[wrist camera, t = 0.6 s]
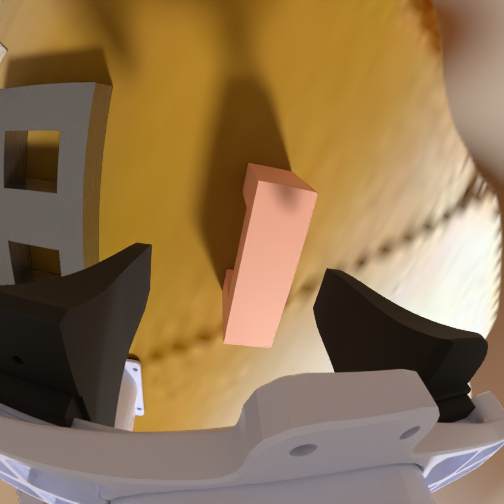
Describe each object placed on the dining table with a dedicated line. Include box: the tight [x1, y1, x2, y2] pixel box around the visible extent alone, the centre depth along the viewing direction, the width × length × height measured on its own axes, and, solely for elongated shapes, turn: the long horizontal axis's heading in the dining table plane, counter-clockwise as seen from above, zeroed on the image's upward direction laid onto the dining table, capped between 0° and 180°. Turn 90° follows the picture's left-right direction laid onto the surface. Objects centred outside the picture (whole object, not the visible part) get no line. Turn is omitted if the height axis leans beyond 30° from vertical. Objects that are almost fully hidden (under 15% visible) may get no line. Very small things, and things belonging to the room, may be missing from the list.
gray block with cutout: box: [0, 82, 113, 285], centre depth 17 cm, size 18×9×3 cm, turn 168°
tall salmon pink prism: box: [222, 163, 318, 348], centre depth 19 cm, size 10×3×6 cm, turn 168°
